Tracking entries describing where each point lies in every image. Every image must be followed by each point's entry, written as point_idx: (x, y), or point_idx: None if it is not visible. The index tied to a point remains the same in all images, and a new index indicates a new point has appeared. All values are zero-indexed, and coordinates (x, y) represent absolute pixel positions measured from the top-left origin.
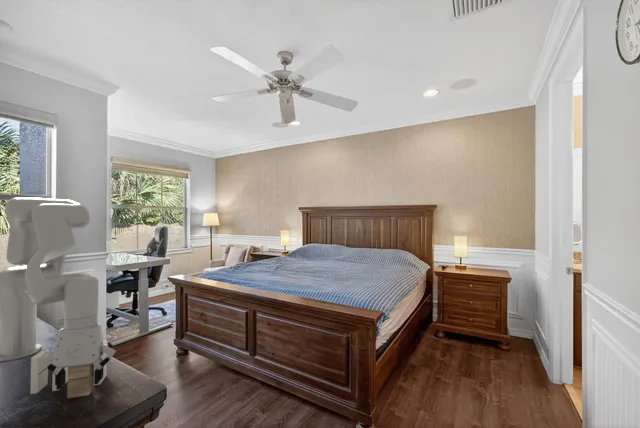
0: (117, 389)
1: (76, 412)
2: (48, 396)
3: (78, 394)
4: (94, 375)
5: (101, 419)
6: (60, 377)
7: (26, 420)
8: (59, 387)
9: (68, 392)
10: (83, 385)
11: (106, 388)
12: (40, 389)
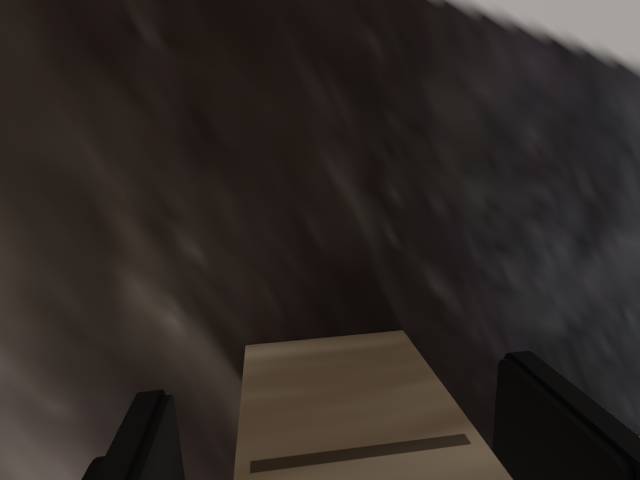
0: (20, 396)
1: (213, 78)
2: None
3: (326, 347)
4: (139, 475)
5: None
6: (591, 449)
7: (569, 69)
8: (512, 362)
9: (411, 355)
10: (295, 398)
11: None
12: None
